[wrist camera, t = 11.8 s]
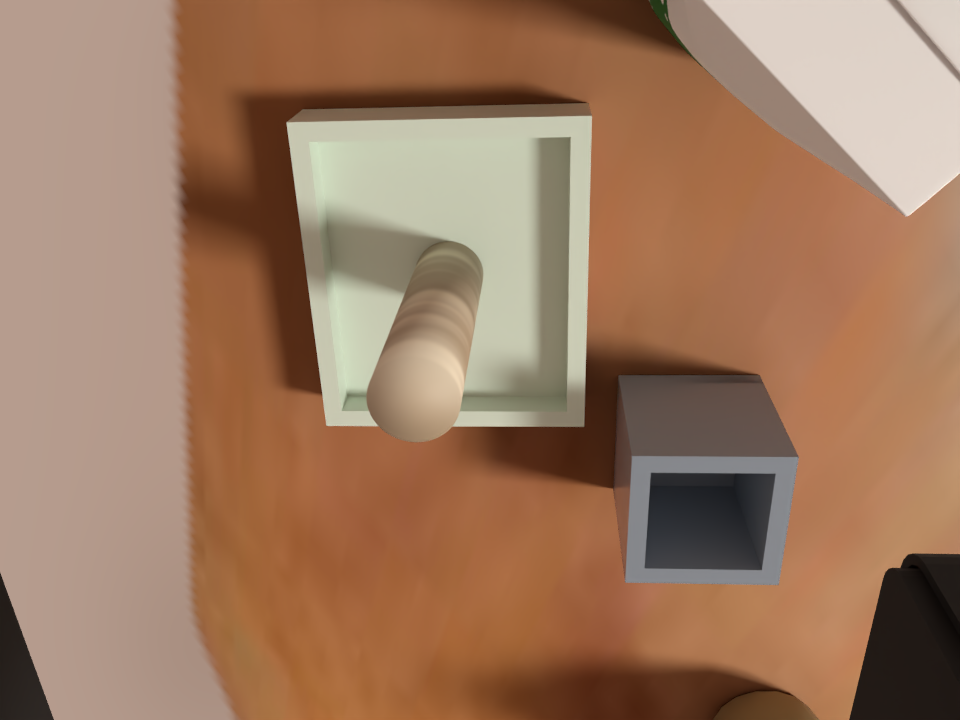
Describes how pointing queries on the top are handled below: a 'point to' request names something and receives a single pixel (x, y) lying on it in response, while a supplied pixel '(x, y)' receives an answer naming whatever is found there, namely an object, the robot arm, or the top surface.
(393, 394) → the dowel
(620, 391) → the holder
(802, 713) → the squeeze bottle
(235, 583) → the top surface
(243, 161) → the top surface
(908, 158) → the milk carton
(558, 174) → the tray
